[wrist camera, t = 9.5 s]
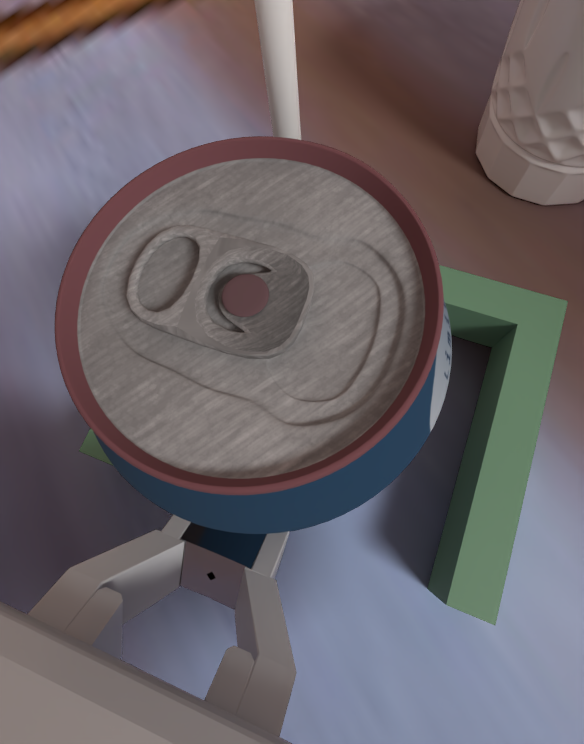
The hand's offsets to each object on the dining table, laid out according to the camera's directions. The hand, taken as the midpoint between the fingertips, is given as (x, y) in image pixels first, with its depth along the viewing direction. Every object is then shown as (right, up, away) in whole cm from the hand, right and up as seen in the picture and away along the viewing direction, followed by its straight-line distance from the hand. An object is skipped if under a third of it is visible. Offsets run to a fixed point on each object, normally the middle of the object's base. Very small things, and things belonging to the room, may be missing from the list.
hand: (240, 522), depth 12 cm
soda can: (+2, +2, +6) cm, 6 cm away
